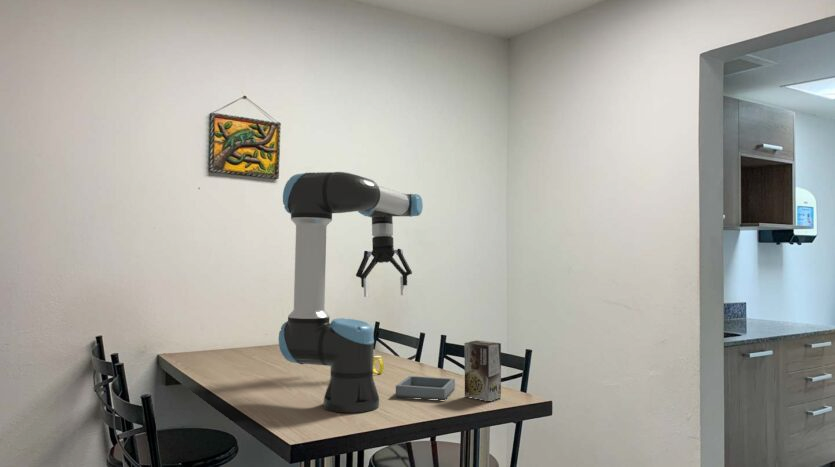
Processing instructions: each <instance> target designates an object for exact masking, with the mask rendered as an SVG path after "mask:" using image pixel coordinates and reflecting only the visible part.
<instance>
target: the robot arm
mask: <svg viewBox="0 0 835 467" xmlns="http://www.w3.org/2000/svg"><path fill="white" fill-rule="evenodd" d="M282 204H283V205H284V207H283V208H284V209H285V211H286V212H287V213H288V214H290V220H291V221H292V222H293V224H294V225H295V245H294V246H295V248H294V250H295V254H294V256H295V257H294V283H293V284H294V286H293V287H294V289H293V310H292V311H291V312H290V313H289V314H288V315H287V321H285V322H284V323H283V324H282V325H281V327H280V330H279V332H278V348H279V351H280V352H281V355H282V356H283V357H284V359H285V360H286V361H287V362H290V363H294V364H299V365H313V366H314V365H315V366H325V367H326V366H327V367H330V377H329V378H330V379H329V382H328V384H327V388H326V391H325V393H324V396H323V408H324V409H326V410H328V411H330V412H333V413H334V412H335V413H344V414H345V413H347V414H348V413H349V414H353V413H356V414H357V413H364V412H365V413H366V412H369V411H373V410H376V409H377V408H379V407H380V396H379V393H378V389H377V386H376V382H375V380H374V373H373V357H374V349H375V348H374V346H375V344H374V343H375V339H374V328H373V326H372V325H371V324H370V323H368V322H367V321H363V320H358V319H353V318H345V317H343V318H341V317H340V318H333V319H332V320H331V321H330V315H329V313H328V312H326V310H325V301H326V298H325V295H326V294H325V293H326V265H327V264H326V263H327V262H326V261H327V258H326V256H327V228H328V225H329V224H330V223H331V222H332V221H333V214H343V213H344V214H345V213H353V212H357V213H359V214H360V215H362V216H364V217H368V218H371V232H372V233H371V234H372V235H371V236H372V239H371V240H372V242H371V244H372V250H365V251H363V257H362V260H361V262H360V265H359V267H358V269H357V271H356V274H355V277H357V278H360V281H361V282H360V284H361V288H363V297H364V298H365V297H366V298H368V297H369V278H367V277H368V276H369V274H370V273H371V272H372V270H373V269H374V268H375V266H376V265H377V264H378V263H380V264H383V263H391V264H392V266H394V268H396V270H397V271H398V272H399V273H400V274H401V276H400V277H399V278H400V279H399V280H400V284H399V285H400V296H406V286H408V276H410V275H412V274H413V271H412V269H411V268H410V266H409V263H408V262H407V260H406V258H405V256H404V253H403V249H401V248H397V249H395V248H394V237H393V235H394V222H393V217H419V216H420V215H421V214H422V212H423V208H424V207H423V204H424V203H423V199H422V196H421V195H420V194H419V193H403V192H400V191H396V190H394V189H390V188H387V187H384V186H381V185H378V183H377V181H374V180H373V179H370V178H367V177H363V176H362V175H358V174H354V173H350V172H344V171H333V172H330V171H329V172H327V171H323V172H322V171H321V172H319V171H318V172H304V173H303V172H302V173H297V174H294V175H292V176H291V177H290V178H289V179H288V180H286V183H285V185H284V188H283V192H282ZM395 255H397V256H398V258H399V260H400V262H401V264H402V266H403V267H402V266H401V265H400V264H399V263H398V262H397V260H396V259H395V258H394V256H395ZM371 256H372V257H373V258H372V259H371V261H370V263H368V261H369V259H370V257H371ZM367 264H368V265H367Z"/></svg>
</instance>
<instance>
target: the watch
mask: <svg viewBox="0 0 835 467" xmlns="http://www.w3.org/2000/svg"><path fill="white" fill-rule="evenodd" d="M376 360H378V362H379V370H378V371H377V369H376V366H375V364H376ZM383 372H384V361H383V358H382V356H381V355H373V374H377V375H380V374H382V373H383Z"/></svg>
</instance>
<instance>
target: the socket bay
mask: <svg viewBox="0 0 835 467" xmlns="http://www.w3.org/2000/svg"><path fill="white" fill-rule="evenodd" d="M454 390H455V391H456V378H448V377H433V376H432V377H431V376H420V375H419V376H418V375H408V376H407V377H405V378H404V379H403V380H402V381H401V382H399V383H397V384H396V385H395V398H396V397H397V398H396V399H406V398H421V399H438V400H445V399H446V398H447V397H448V396H449V395H450V394H451V393H452V392H453V391H454ZM455 391H454V392H455ZM454 392H453V393H454ZM453 393H452V394H453ZM452 394H451V395H452ZM451 395H450V396H451ZM450 396H449V397H450ZM449 397H448V398H449ZM448 398H447V399H448ZM447 399H446V400H447ZM446 400H445V401H446Z"/></svg>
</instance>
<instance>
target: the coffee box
mask: <svg viewBox="0 0 835 467" xmlns="http://www.w3.org/2000/svg"><path fill="white" fill-rule="evenodd" d="M463 344H464V348H463V349H464V397H465V396H467V397H472V398H477V399H482V400H486V401H491V400H494V399H498V398H501V399H502V376H501V375H502V360H501V359H502V343H499V342H494V341H493V342H492V341H485V340H472V341H467V342H464V343H463ZM498 400H499V399H498ZM486 401H485V402H486ZM494 401H495V400H494ZM491 402H492V401H491Z"/></svg>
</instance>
